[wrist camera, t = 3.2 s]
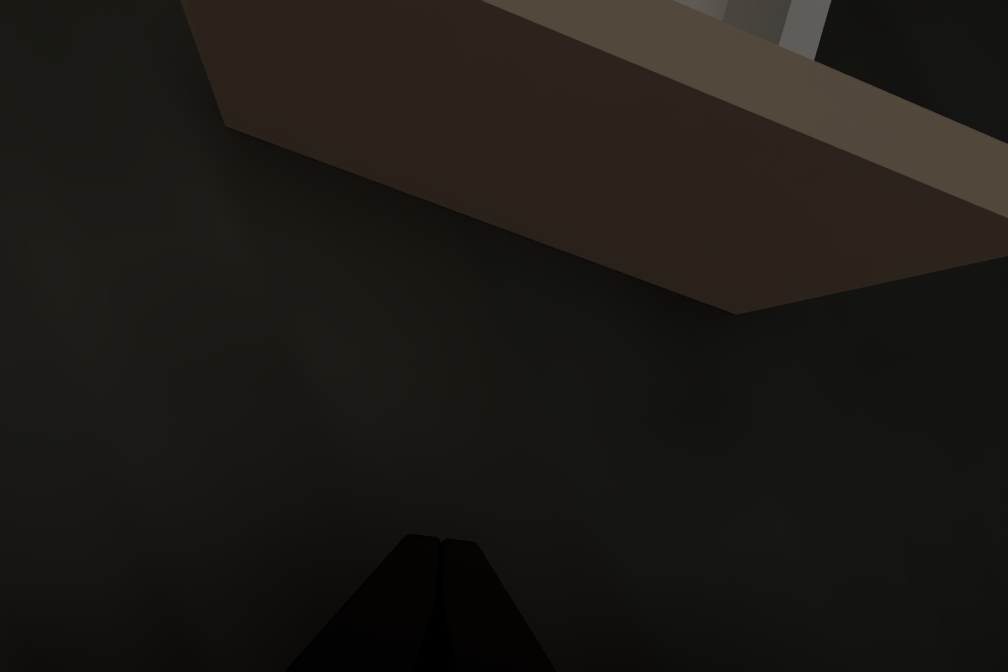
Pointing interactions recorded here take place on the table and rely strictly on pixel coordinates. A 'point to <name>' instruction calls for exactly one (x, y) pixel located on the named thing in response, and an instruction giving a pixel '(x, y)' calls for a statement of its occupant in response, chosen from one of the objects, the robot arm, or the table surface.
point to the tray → (622, 134)
